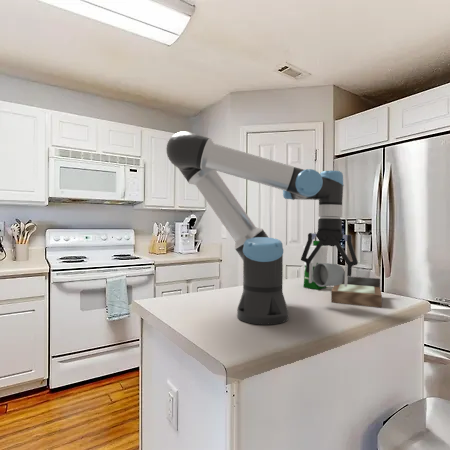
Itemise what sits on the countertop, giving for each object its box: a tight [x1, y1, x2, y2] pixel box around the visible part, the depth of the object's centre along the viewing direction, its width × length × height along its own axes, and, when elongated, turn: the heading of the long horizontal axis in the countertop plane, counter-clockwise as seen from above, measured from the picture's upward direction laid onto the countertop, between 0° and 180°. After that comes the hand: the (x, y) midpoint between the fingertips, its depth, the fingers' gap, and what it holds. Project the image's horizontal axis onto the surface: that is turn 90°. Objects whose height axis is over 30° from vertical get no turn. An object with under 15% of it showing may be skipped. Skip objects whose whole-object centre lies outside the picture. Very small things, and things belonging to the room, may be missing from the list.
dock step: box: [330, 275, 383, 308], centre depth 118 cm, size 16×16×7 cm
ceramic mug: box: [312, 262, 345, 287], centre depth 109 cm, size 11×8×8 cm
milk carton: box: [302, 240, 329, 291], centre depth 138 cm, size 9×9×20 cm
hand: (327, 284), depth 107 cm, fingers closed on ceramic mug, 11 cm apart
